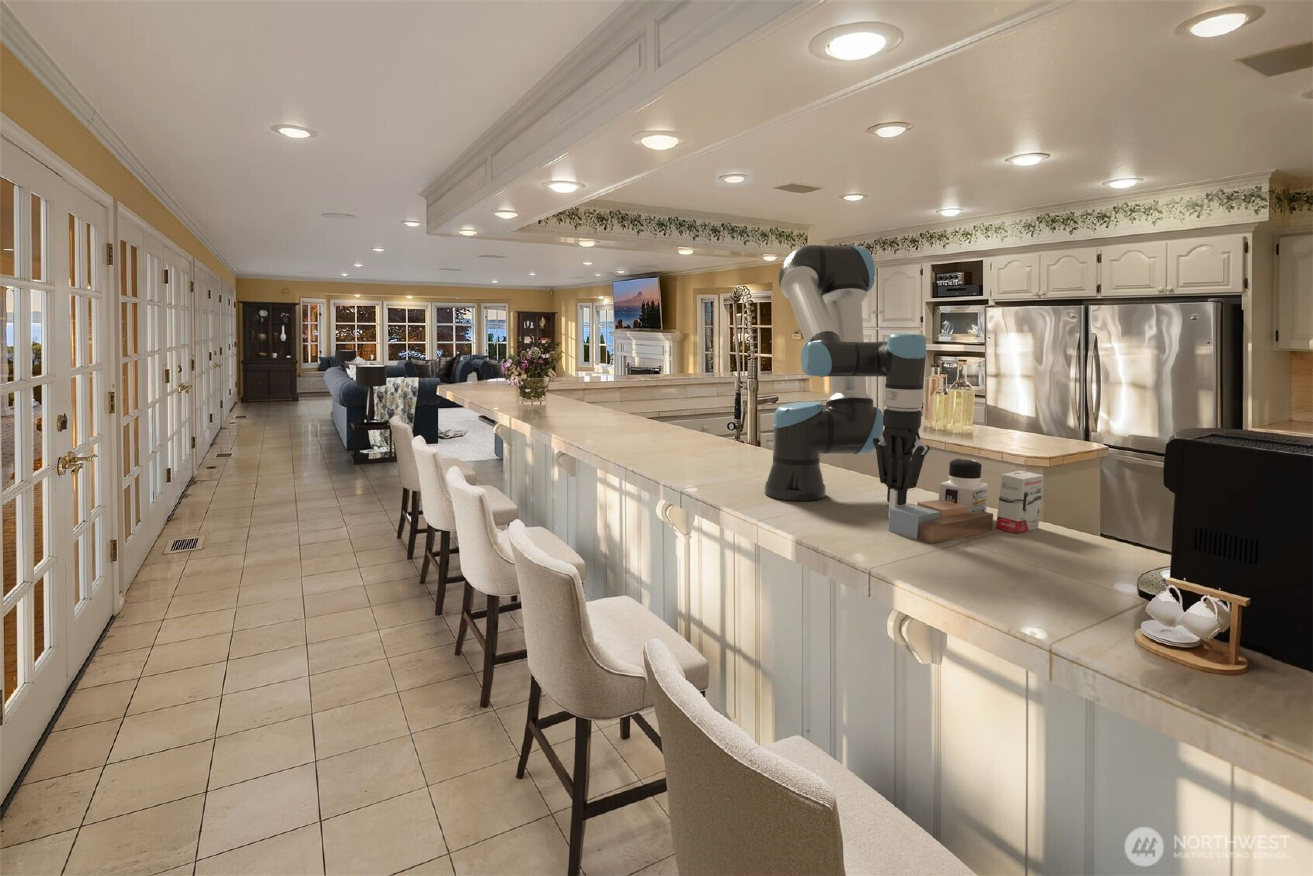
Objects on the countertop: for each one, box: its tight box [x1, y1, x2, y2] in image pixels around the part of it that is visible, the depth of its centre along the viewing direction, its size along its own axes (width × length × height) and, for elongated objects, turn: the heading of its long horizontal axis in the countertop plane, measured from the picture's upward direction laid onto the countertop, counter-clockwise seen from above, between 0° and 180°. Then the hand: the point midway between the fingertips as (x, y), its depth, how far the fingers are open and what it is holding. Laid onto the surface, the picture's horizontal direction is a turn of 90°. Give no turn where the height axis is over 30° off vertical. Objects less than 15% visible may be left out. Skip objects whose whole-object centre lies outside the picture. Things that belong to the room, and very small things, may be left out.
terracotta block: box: [916, 499, 968, 519], centre depth 150 cm, size 7×7×5 cm
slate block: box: [888, 504, 941, 540], centre depth 146 cm, size 7×7×5 cm
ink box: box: [995, 470, 1045, 534], centre depth 149 cm, size 8×5×12 cm, turn 123°
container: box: [938, 458, 989, 513], centre depth 158 cm, size 8×8×13 cm
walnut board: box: [919, 511, 994, 545], centre depth 144 cm, size 3×20×4 cm, turn 122°
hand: (895, 518), depth 150 cm, fingers closed
